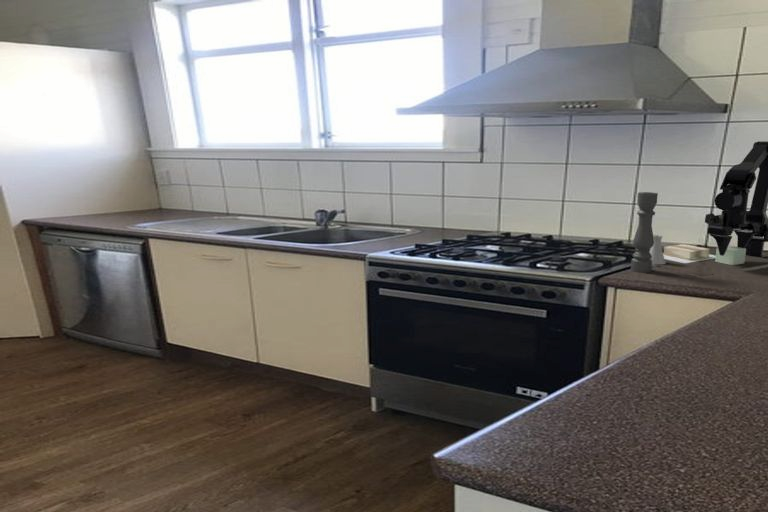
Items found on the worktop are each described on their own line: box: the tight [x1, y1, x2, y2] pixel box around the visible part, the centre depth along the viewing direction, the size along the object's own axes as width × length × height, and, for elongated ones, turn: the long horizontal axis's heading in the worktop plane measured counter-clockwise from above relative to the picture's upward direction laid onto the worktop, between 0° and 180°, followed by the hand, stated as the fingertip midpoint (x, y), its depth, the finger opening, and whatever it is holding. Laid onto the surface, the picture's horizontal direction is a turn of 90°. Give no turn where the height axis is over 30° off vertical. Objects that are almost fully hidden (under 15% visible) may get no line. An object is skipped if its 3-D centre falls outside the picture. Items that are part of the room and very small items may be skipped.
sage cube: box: [714, 245, 746, 266], centre depth 183 cm, size 6×6×6 cm
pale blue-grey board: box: [663, 252, 716, 264], centre depth 193 cm, size 20×14×1 cm
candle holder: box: [630, 191, 659, 273], centre depth 176 cm, size 6×6×25 cm
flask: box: [649, 234, 667, 268], centre depth 184 cm, size 7×7×10 cm
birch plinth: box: [663, 243, 711, 260], centre depth 193 cm, size 10×10×3 cm
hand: (730, 254), depth 183 cm, fingers open, 9 cm apart
